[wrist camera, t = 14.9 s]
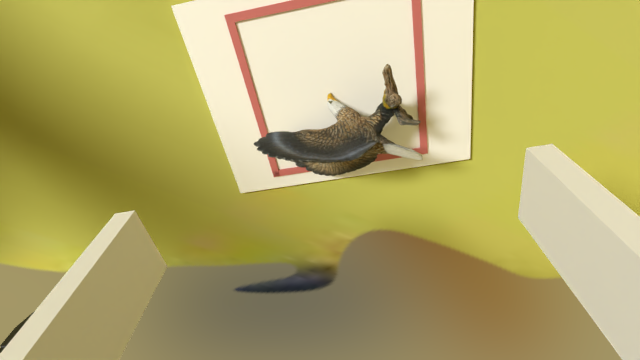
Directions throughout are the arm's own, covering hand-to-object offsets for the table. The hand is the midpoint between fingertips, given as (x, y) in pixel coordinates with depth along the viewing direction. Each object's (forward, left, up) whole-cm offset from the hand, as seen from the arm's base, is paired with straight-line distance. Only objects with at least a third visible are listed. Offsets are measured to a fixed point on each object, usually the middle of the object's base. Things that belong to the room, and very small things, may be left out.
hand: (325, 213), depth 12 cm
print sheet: (0, 0, -14) cm, 14 cm away
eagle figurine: (0, -3, -14) cm, 14 cm away
